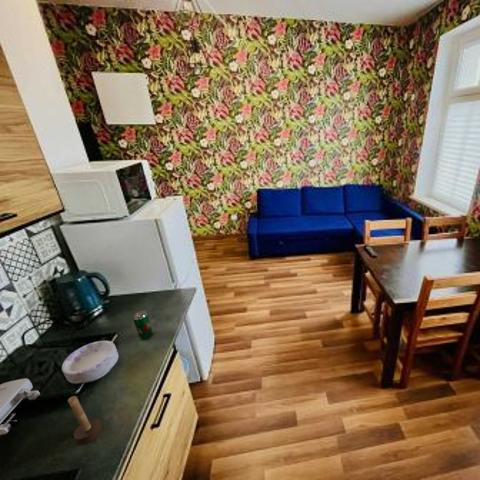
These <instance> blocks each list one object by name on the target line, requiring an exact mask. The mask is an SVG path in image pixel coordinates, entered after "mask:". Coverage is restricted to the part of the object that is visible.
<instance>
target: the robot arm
mask: <svg viewBox="0 0 480 480" xmlns="http://www.w3.org/2000/svg"><path fill="white" fill-rule="evenodd" d="M33 387H34V386H33V384H32V382H31V380H30V379H29V378H27V377H25V378H20V379H16V380H10V381H7V382H3V383H1V384H0V436H1V435H6V434H8V433H9V432H10V430H11V429H12V428H13V426H12V425H11V424H10V423H3V422H4V420H5V419H6V418H7V417H8V416H9V415H10V414H11V412H12V411H13V410H15V408H16V407H17V406H18V405H19V404H20V403H21V401H22V400H23V399H27V398H28V400H29V401H33V400H37V399H38V398H39V396H40V395H41V393H40V392H39V391H40V390H33ZM2 423H3V424H2Z"/></svg>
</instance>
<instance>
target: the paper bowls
mask: <svg viewBox="0 0 480 480" xmlns="http://www.w3.org/2000/svg"><path fill="white" fill-rule="evenodd" d="M118 361H119V353H118V349H117V347H116V345H115V343H114V342H113V341H110V340H98V341H94V342H89V343H88V344H85V345H83V346H81V347H79V348H78V349H76V350H74V351H73V352H71V353H70V354H69V355H68V356H67V357H66V358H65V359H64V361H63V363H62V365H61V371H62V373H63V375H64V377H65V378H66V380H67V381H68V383H71V384H77V385H78V384H82V383H84V384H85V383H91V382H94V381H96V380H99V379H101V378H102V377H104V376H105V375H107V374H108V373H109V372H110V371H111V369H112V368H113V367H114V366H115V365H116V364H117V362H118Z"/></svg>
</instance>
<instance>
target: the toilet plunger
mask: <svg viewBox="0 0 480 480" xmlns="http://www.w3.org/2000/svg"><path fill="white" fill-rule="evenodd" d="M67 402H68V404H69V406H70V408H71V410H72V412H73V414H74V416H75V418H76V419H77V422H78V424H79V426H77V428H76V429H75V430H74V432H73V437H74V439H75V441H76V443H77V445H81V446H82V445H87V444H89V443H91V442H93V441H94V440H96V439H97V438H98V437H99V436H100V434H101V433H102V431H103V429H104V427H103V424H102V422H101V420H100V419H99V418H98V417H92V418H89V419H88V417H87V415H86V413H85V411H84V409H83V406H82V405H81V403H80V400H79V398H78V396H76V395H72V396H71V397H69V398H68V399H67Z"/></svg>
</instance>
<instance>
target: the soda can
mask: <svg viewBox="0 0 480 480" xmlns="http://www.w3.org/2000/svg"><path fill="white" fill-rule="evenodd" d="M132 317H133V318H132V320H133V322H134V325H135V329H136V331H137V332H136V333H137V335H138V338H139V339H140V340H142V341H146V340H149V339H150V338H152V337H153V335H154V331H153V328H152V324H151V322H150V318H149V315H148V312H146V311H145V310H140V311H137V312H135V313H134V314H133V316H132Z"/></svg>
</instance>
